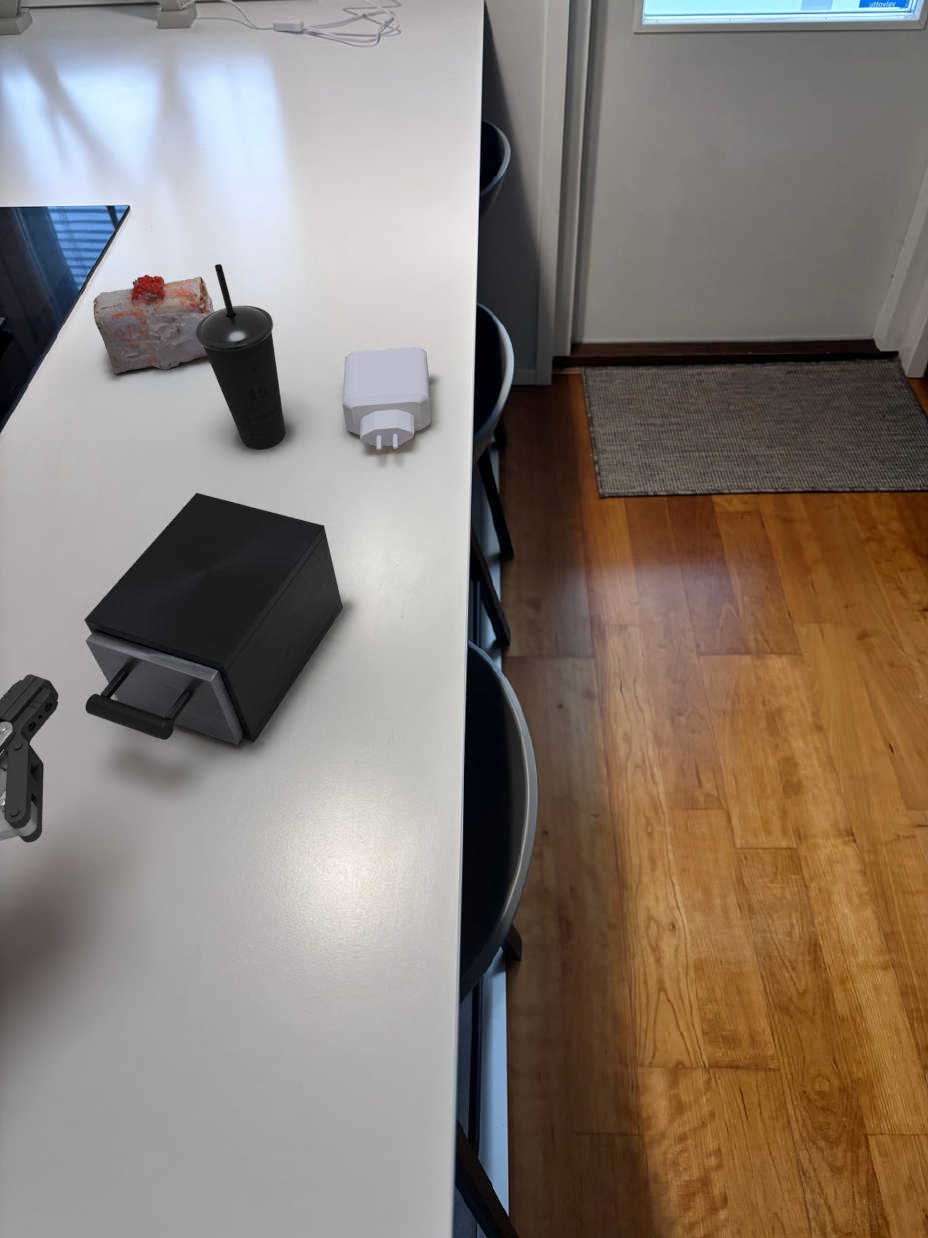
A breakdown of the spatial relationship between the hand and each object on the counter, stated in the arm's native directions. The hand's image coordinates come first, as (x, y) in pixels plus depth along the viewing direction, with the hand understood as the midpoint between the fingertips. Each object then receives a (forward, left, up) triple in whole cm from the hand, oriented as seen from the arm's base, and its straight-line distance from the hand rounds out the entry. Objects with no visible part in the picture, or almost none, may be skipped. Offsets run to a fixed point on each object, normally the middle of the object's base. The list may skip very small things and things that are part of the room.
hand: (44, 684), depth 62 cm
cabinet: (+7, +16, -16) cm, 23 cm away
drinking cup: (+5, +47, -16) cm, 49 cm away
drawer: (+5, +12, -15) cm, 20 cm away
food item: (-9, +64, -16) cm, 66 cm away
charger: (+19, +48, -16) cm, 54 cm away
